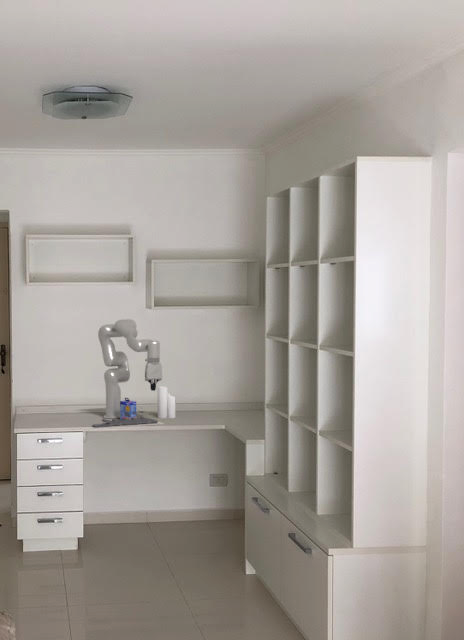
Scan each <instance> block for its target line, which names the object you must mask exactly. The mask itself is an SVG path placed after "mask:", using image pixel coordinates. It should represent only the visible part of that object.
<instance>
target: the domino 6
mask: <svg viewBox="0 0 464 640" xmlns="http://www.w3.org/2000/svg"><path fill="white" fill-rule="evenodd" d="M139 419H141V420H145V421H149V422H154V423H158V421H159V420H157V419H152V418H150V417H144V416H141V415H140V417H139Z"/></svg>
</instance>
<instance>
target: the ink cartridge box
mask: <svg viewBox="0 0 464 640" xmlns="http://www.w3.org/2000/svg"><path fill="white" fill-rule="evenodd" d="M131 417H133V418H137V401H136V400H135V401H134V400H130V398H129V397H124V400H121V401H120V418H119V420H121V419H122V418H125V419H130V420H131ZM137 419H138V418H137Z"/></svg>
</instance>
